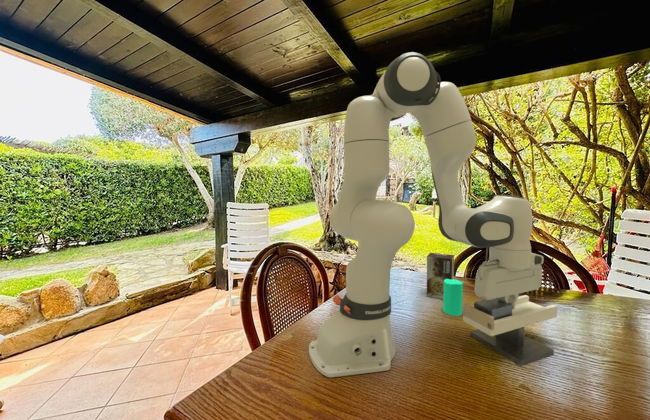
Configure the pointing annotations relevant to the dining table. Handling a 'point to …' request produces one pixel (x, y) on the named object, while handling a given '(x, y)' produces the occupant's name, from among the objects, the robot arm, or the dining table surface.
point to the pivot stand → (514, 345)
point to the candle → (453, 297)
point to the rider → (494, 308)
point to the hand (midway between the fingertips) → (507, 309)
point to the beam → (521, 317)
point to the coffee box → (438, 273)
